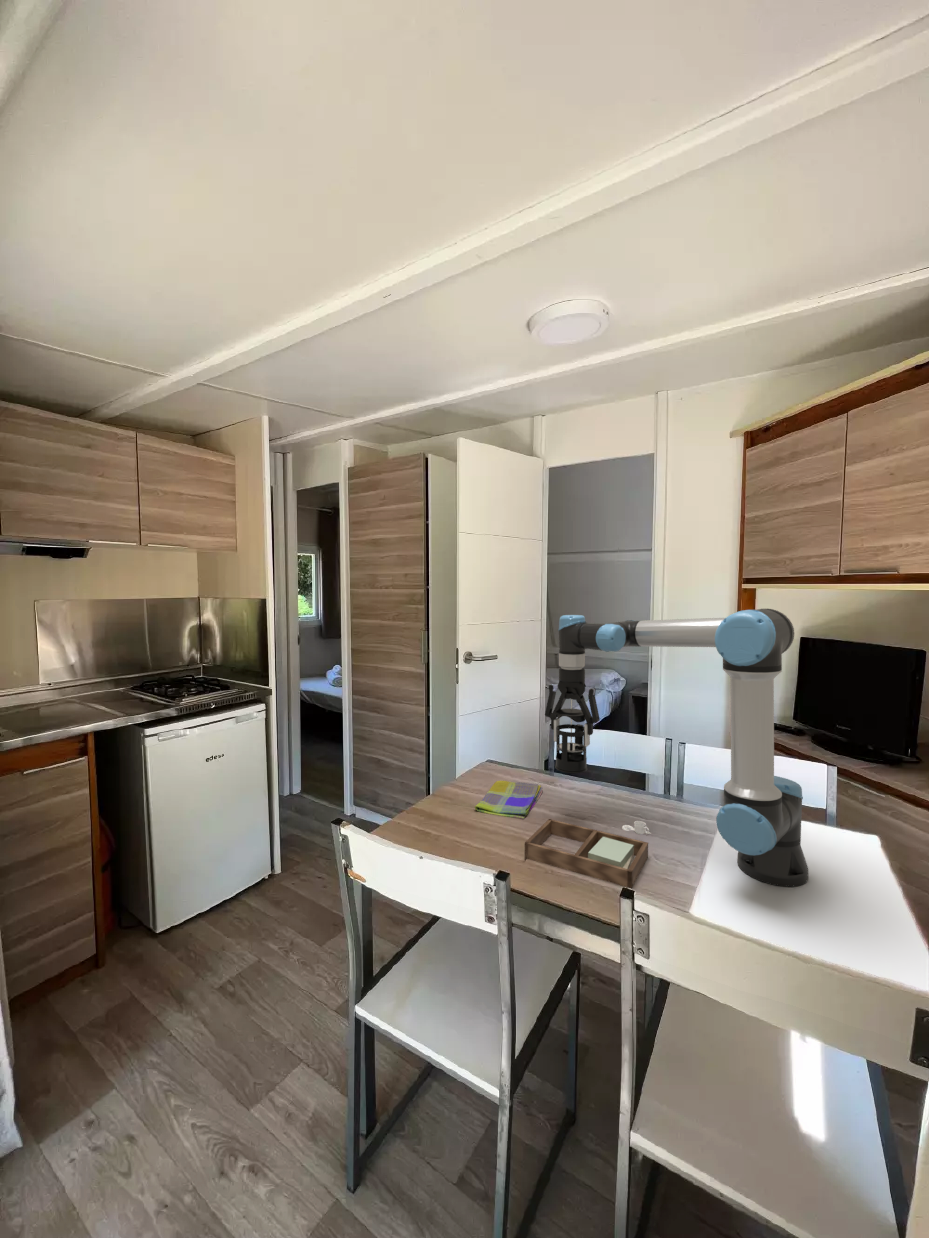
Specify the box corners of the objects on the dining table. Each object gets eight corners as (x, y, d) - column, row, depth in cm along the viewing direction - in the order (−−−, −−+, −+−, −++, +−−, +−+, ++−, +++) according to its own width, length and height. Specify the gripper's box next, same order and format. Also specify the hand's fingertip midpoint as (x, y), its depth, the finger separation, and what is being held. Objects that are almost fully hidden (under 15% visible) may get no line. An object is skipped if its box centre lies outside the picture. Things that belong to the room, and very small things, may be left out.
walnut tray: (647, 861, 135) (648, 842, 135) (631, 893, 121) (631, 872, 121) (549, 835, 149) (549, 818, 149) (524, 861, 136) (524, 842, 135)
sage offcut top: (633, 852, 133) (633, 844, 133) (620, 870, 125) (620, 862, 125) (602, 843, 138) (603, 836, 138) (588, 860, 130) (588, 852, 130)
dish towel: (471, 812, 166) (471, 804, 166) (495, 785, 189) (495, 777, 188) (526, 821, 160) (526, 812, 159) (544, 791, 182) (544, 783, 182)
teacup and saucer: (617, 832, 152) (617, 818, 152) (640, 827, 154) (640, 814, 154) (636, 846, 144) (636, 831, 143) (660, 841, 146) (660, 827, 146)
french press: (577, 776, 150) (578, 696, 148) (548, 769, 156) (548, 692, 154) (594, 764, 159) (595, 689, 158) (566, 758, 165) (566, 686, 163)
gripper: (611, 668, 153) (611, 744, 155) (543, 663, 164) (543, 734, 166) (604, 672, 147) (603, 752, 148) (533, 666, 158) (533, 740, 160)
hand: (571, 742), depth 157 cm, fingers closed on french press, 9 cm apart
